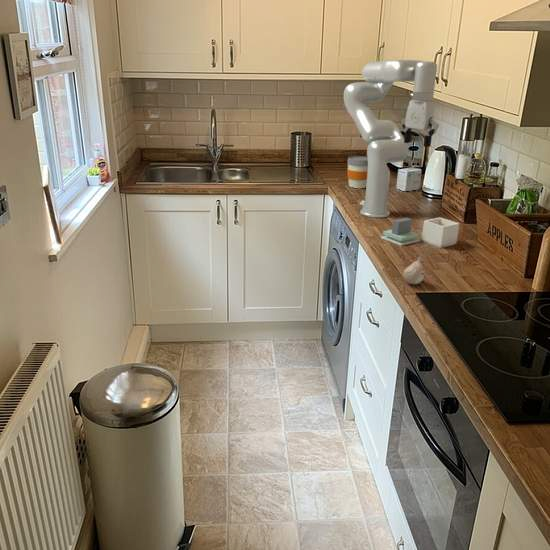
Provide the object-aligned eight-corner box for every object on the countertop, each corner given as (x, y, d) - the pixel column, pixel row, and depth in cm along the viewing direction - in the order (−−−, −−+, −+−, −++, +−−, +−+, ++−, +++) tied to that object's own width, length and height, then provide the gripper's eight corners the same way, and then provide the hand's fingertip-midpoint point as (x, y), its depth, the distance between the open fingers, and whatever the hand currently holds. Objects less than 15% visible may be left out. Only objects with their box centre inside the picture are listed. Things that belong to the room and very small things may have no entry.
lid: (382, 236, 212) (384, 218, 209) (399, 232, 217) (401, 215, 214) (401, 243, 205) (403, 225, 202) (418, 239, 210) (420, 221, 207)
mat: (380, 238, 212) (380, 236, 212) (399, 233, 218) (399, 232, 217) (401, 245, 204) (401, 244, 204) (420, 241, 210) (420, 239, 210)
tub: (421, 241, 210) (424, 220, 207) (437, 237, 214) (439, 217, 211) (440, 248, 203) (443, 227, 200) (456, 244, 208) (459, 223, 205)
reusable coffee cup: (343, 188, 285) (345, 159, 279) (348, 183, 296) (350, 155, 290) (367, 191, 281) (370, 161, 276) (371, 186, 292) (374, 157, 287)
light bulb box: (410, 187, 292) (412, 167, 288) (419, 190, 287) (422, 169, 282) (395, 189, 286) (397, 168, 282) (405, 192, 281) (407, 171, 277)
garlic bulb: (427, 285, 170) (431, 261, 167) (409, 288, 168) (412, 263, 165) (415, 277, 176) (418, 253, 173) (397, 280, 174) (400, 256, 171)
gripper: (398, 95, 209) (393, 141, 216) (434, 99, 196) (428, 148, 203) (411, 95, 214) (406, 140, 220) (448, 99, 201) (441, 147, 207)
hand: (416, 144), depth 211 cm, fingers open, 9 cm apart
